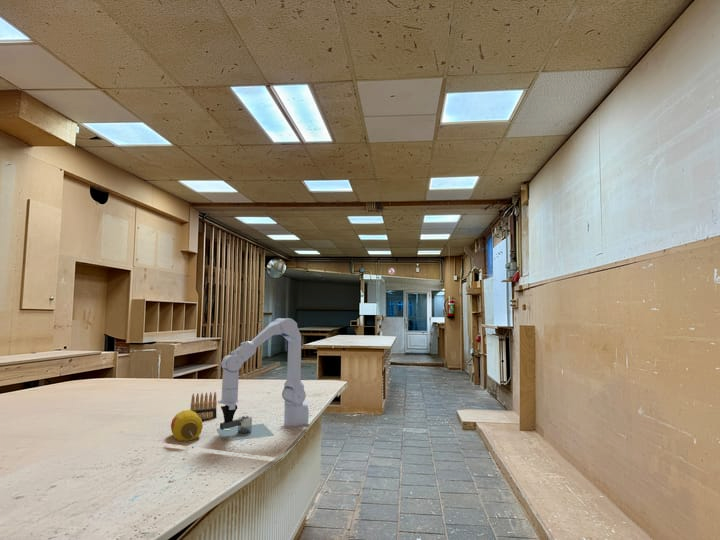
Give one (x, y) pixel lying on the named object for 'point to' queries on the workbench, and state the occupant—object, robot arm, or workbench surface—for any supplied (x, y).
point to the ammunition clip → (207, 409)
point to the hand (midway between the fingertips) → (228, 426)
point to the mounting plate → (233, 433)
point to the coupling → (239, 424)
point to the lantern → (186, 425)
